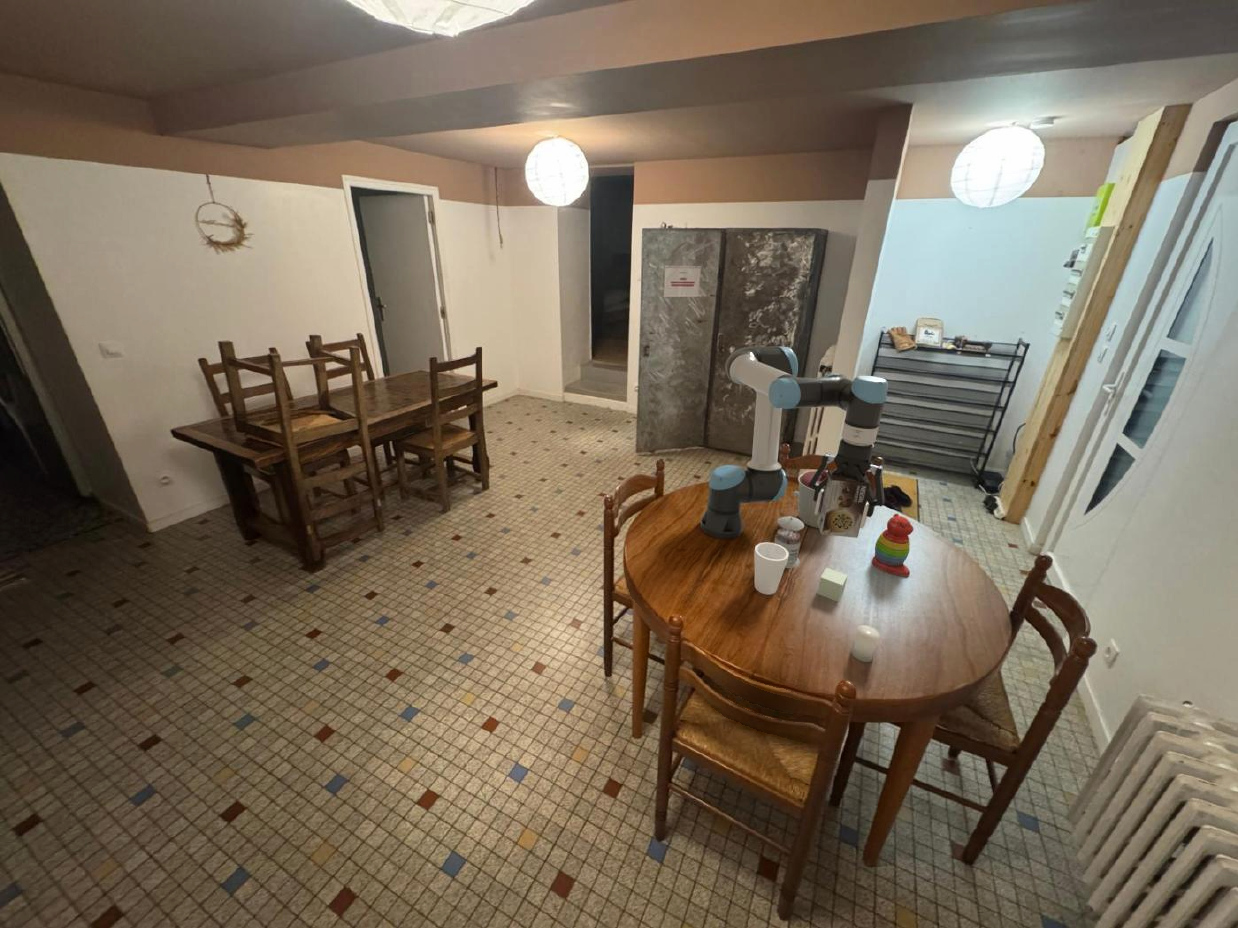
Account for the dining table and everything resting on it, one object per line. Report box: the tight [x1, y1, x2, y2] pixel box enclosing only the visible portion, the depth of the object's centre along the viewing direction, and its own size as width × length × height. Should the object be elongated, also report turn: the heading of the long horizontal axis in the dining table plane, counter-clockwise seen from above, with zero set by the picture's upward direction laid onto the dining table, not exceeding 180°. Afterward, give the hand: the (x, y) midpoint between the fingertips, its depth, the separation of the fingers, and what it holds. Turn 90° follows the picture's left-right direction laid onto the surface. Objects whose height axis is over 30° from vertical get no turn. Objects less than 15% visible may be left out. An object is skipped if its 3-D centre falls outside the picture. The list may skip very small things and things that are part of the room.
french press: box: [773, 490, 805, 569], centre depth 149 cm, size 10×12×25 cm
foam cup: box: [753, 541, 789, 595], centre depth 137 cm, size 10×9×13 cm
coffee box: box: [817, 469, 871, 539], centre depth 121 cm, size 9×6×16 cm
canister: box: [797, 469, 829, 529], centre depth 172 cm, size 18×18×21 cm
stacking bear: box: [871, 513, 915, 577], centre depth 148 cm, size 11×10×18 cm
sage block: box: [816, 567, 849, 603], centre depth 137 cm, size 6×6×6 cm
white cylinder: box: [850, 624, 881, 663], centre depth 115 cm, size 5×5×7 cm
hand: (839, 519), depth 123 cm, fingers closed on coffee box, 10 cm apart
